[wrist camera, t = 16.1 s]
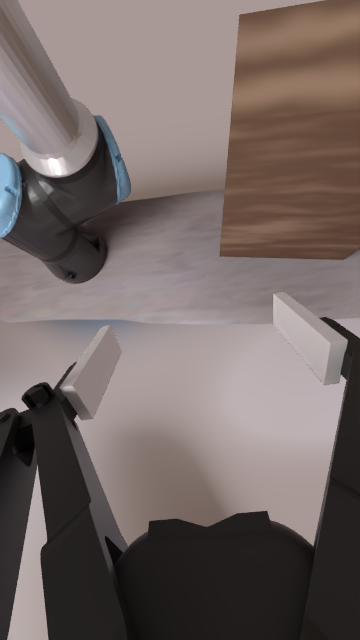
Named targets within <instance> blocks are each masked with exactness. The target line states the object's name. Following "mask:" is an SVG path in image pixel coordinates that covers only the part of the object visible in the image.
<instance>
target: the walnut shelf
mask: <svg viewBox="0 0 360 640" xmlns="http://www.w3.org/2000/svg"><path fill="white" fill-rule="evenodd" d="M237 40H238V41H237V51H236V64H235V76H234V88H233V101H232V112H231V125H230V136H229V148H228V160H227V172H226V185H225V196H224V208H223V220H222V233H221V245H220V256H227V257H263V258H300V259H336V260H344V259H345V258H347V257H348V256H349V255H351V254H352V253H354V252H355V251H356V250H358V249H359V248H360V0H325V1H319V2H313V3H307V4H301V5H295V6H289V7H283V8H277V9H271V10H265V11H259V12H253V13H247V14H241V15H239V27H238V39H237Z"/></svg>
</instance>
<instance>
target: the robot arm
mask: <svg viewBox="0 0 360 640" xmlns="http://www.w3.org/2000/svg"><path fill="white" fill-rule="evenodd" d="M0 119H1V120H2V121H3V122H4V123H5V124H6V126H7V127H8V128H9V129H10V130H11V131H12V132H13V133H14V134H15V135H16V136H17V137H18V138H19V139H20V146H21V151H22V154H23V156H24V158H25V159H23V160H22V161H20V162H18V163H17V162H16V161H15V160H14V159H13V158H11V157H9V156H8V155H6V154H4V153H0V238H2V239H3V240H5V241H7V242H9V243H11V244H12V245H14V246H16V247H18V248H20V249H21V250H23V251H25V252H27V253H29V254H31V255H32V256H34V257H36V258H38V259H40V260H41V261H42V262H43V263H44V264H45V265H46V266H47V268H48V269H49V270H50V271H51V272H52V273H53V274H54V275H55V276H56V277H58V278H59V279H61V280H63V281H65V282H68V283H73V284H77V283H83V282H85V281H88V280H89V279H91V278H92V277H94V276H95V275H96V274H97V273H98V272H99V271H100V269H101V267H102V266H103V264H104V261H105V257H106V248H105V244H104V242H103V240H102V238H101V237H100V236H99V235H98V234H97V233H96V232H95V231H94V230H93V229H91V228H89V227H87V226H85V225H83V224H82V223H84V222H86V221H88V220H89V219H91V218H93V217H95V216H97V215H99V214H101V213H102V212H104V211H106V210H108V209H110V208H112V207H113V206H116V205H118V204H119V202H121V201H122V200H124V199H125V198H127V197H128V196H129V194H130V191H131V184H130V179H129V176H128V172H127V169H126V166H125V164H124V161H123V159H122V158H121V154H120V151H119V148H118V146H117V143H116V141H115V139H114V136H113V134H112V132H111V130H110V128H109V126H108V125H107V123H106V121H105V120H104V118H103V117H102V116H100V115H98V116H93V115H92V114H91V112H90V111H89V109H88V108H87V107H86V106H85V105H84V104H82V103H81V102H79V101H77V100H75V99H72V98H71V97H70V95H69V93H68V91H67V90H66V88H65V86H64V84H63V82H62V81H61V79H60V77H59V75H58V73H57V71H56V70H55V68H54V66H53V64H52V62H51V60H50V59H49V57H48V55H47V53H46V52H45V50H44V48H43V46H42V44H41V42H40V40H39V39H38V37H37V35H36V33H35V31H34V29H33V28H32V26H31V24H30V23H29V21H28V19H27V17H26V15H25V13H24V11H23V10H22V8H21V6H20V4H19V2H18V0H0ZM273 325H274V326H275V327H276V328H277V330H278V331H279V332H280V333H281V334H282V336H283V337H284V338H285V339H286V340H287V342H288V343H289V344H290V345H291V346H292V347H293V349H294V350H295V351H296V352H297V354H298V355H299V356H300V357H301V358H302V360H303V361H304V362H305V363H306V364H307V366H308V367H309V368H310V369H311V370H312V372H313V373H314V374H315V375H316V376H317V378H318V379H319V380H320V381H321V382H322V384H323V385H329V384H336V383H339V381H340V376H341V375H342V376H343V377H344V378H345V379H346V380H347V382H346V386H345V390H344V396H343V401H342V406H341V411H340V417H339V421H338V427H337V431H336V436H335V442H334V447H333V452H332V457H331V462H330V467H329V472H328V477H327V483H326V487H325V492H324V498H323V502H322V507H321V512H320V517H319V522H318V526H317V531H316V536H315V541H314V546H312V545H311V544H310V543H309V542H308V541H307V540H305V539H304V538H303V537H302V536H301V535H299V534H298V533H296V532H295V531H293V530H291V529H290V528H288V527H286V526H285V525H282V524H280V523H277V522H274V521H271V520H270V519H269V516H268V513H267V511H262V512H249V513H237V514H235V515H233V516H231V517H229V518H226V519H224V520H222V521H220V522H218V523H216V524H214V525H211V526H209V527H204V526H201V525H197V524H194V523H190V522H187V521H183V520H179V519H168V520H156V521H150V522H149V529H148V532H146V533H144V534H143V535H141V536H140V537H139V538H137V539H136V540H135V541H134V542H133V543H132V544H131V545H130V546H129V547H128V546H127V543H126V542H125V540H124V538H123V537H122V535H121V533H120V531H119V528H118V526H117V524H116V521H115V518H114V516H113V513H112V511H111V509H110V506H109V503H108V501H107V498H106V496H105V493H104V491H103V488H102V486H101V483H100V481H99V478H98V476H97V473H96V471H95V468H94V466H93V463H92V461H91V458H90V456H89V453H88V451H87V448H86V446H85V443H84V441H83V439H82V436H81V434H80V431H79V428H78V426H77V424H76V422H75V421H74V419H75V417H76V415H78V416H79V418H80V419H81V420H88V419H93V418H94V416H95V414H96V411H97V409H98V407H99V404H100V402H101V399H102V397H103V395H104V393H105V390H106V388H107V385H108V383H109V381H110V378H111V376H112V374H113V371H114V369H115V367H116V364H117V362H118V360H119V357H120V355H121V353H122V351H121V348H120V346H119V343H118V341H117V339H116V337H115V334H114V332H113V329H112V327H111V325H108V326H103V327H101V329H100V330H99V332H98V333H97V335H96V336H95V337H94V339H93V340H92V342H91V343H90V345H89V346H88V348H87V349H86V350H85V352H84V353H83V355H82V356H81V357H80V359H79V360H78V362H75V363H74V364H73V365H72V366H70V367H69V369H68V370H67V371H66V373H65V374H64V376H63V377H62V379H61V380H60V381H59V382H58V384H57V385H56V386H55V388H54V389H53V390H52V388H51V387H50V385H49V384H48V383H46V382H43V383H39V384H37V385H35V386H33V387H31V388H30V389H29V390H27V391H26V392H25V393H24V395H23V396H22V401H23V402H24V403H25V404H26V405H27V407H28V408H29V410H26V411H23V412H21V413H19V412H18V411H17V410H16V409H15V408H9V409H7V410H4V411H3V412H0V640H7V637H8V632H9V627H10V621H11V616H12V610H13V603H14V598H15V592H16V586H17V580H18V575H19V569H20V563H21V556H22V551H23V545H24V540H25V534H26V528H27V522H28V516H29V510H30V505H31V499H32V493H33V487H34V481H35V475H36V470H37V464H38V471H39V479H40V486H41V494H42V501H43V508H44V516H45V523H46V530H47V543H46V544H45V545H44V546H43V547H42V549H41V569H42V579H43V589H44V599H45V609H46V618H47V628H48V638H49V640H360V338H358V337H357V336H356V335H354V334H353V333H351V332H350V331H348V330H346V328H344V327H343V326H341V325H340V324H338V323H337V322H336V321H334V320H332V319H329V318H326V317H323V318H318V317H317V316H315V315H314V314H313V313H311V312H310V311H309V310H307V309H306V308H305V307H303V306H302V305H301V304H299V303H298V302H297V301H295V300H294V299H293V298H292V297H290V296H289V295H288V294H286V293H285V292H284V291H283V292H278V293H273Z"/></svg>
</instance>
